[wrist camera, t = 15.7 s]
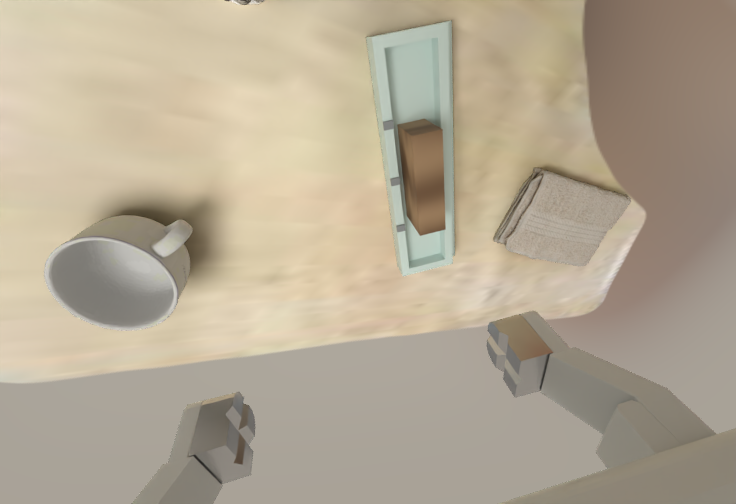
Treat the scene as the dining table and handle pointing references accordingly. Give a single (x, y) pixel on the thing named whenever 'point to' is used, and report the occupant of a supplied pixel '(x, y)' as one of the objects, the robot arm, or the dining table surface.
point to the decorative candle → (246, 2)
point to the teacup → (121, 272)
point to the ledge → (406, 104)
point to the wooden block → (423, 174)
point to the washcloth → (559, 218)
